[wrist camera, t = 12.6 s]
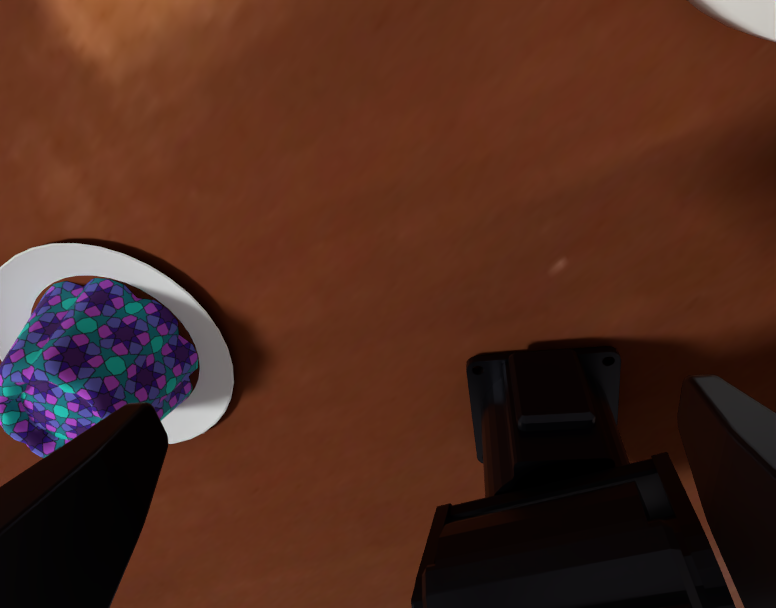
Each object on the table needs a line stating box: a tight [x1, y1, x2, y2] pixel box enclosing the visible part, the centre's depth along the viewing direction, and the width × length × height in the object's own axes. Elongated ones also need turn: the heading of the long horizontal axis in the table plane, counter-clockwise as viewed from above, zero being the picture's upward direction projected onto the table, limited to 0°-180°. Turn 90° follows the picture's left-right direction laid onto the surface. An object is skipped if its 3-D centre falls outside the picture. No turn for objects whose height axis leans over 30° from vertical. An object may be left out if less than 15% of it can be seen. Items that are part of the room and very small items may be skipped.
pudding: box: [0, 243, 234, 458], centre depth 25 cm, size 12×12×5 cm
